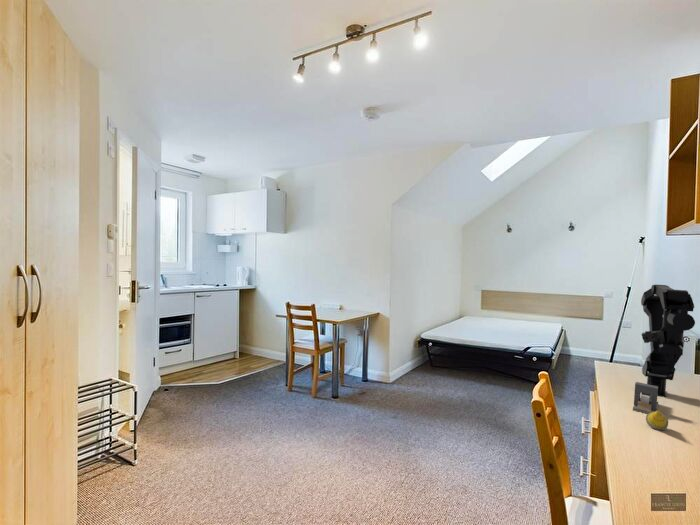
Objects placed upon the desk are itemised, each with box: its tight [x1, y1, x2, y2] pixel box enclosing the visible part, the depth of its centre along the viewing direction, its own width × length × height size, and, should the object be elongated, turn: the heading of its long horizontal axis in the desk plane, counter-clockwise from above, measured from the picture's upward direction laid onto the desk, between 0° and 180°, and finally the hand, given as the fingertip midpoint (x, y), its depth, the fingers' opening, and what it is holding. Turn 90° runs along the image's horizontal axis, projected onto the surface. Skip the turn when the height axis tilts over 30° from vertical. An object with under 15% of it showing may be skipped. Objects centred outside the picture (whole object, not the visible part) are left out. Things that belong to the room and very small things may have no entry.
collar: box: [633, 381, 659, 410], centre depth 131 cm, size 3×6×7 cm, turn 48°
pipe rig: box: [632, 393, 659, 415], centre depth 134 cm, size 14×6×5 cm, turn 138°
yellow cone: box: [645, 410, 669, 431], centre depth 117 cm, size 5×5×10 cm
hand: (669, 369), depth 135 cm, fingers closed
